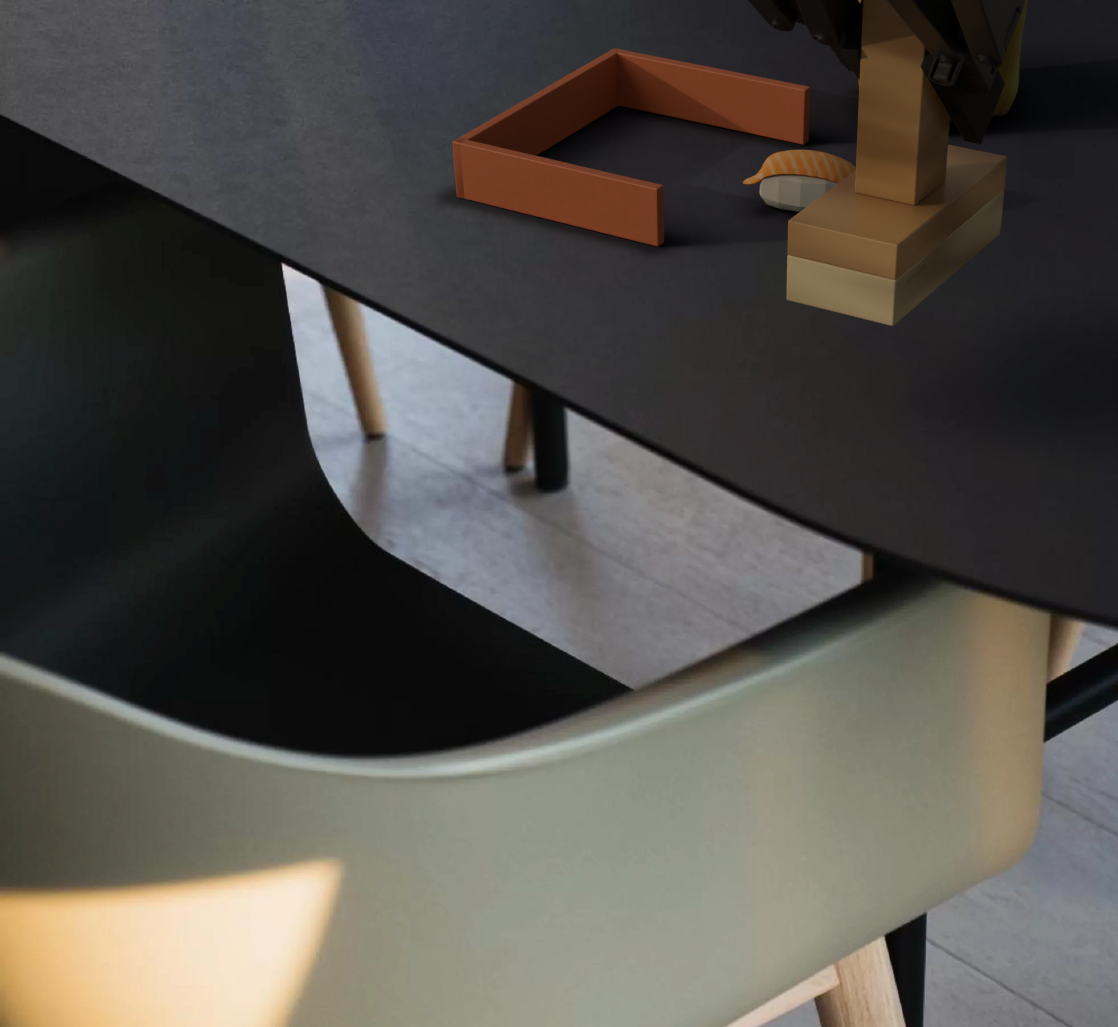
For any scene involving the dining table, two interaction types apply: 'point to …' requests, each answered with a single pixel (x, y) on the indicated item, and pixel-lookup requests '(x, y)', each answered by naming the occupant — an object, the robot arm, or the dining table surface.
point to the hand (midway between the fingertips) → (946, 104)
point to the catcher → (588, 93)
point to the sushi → (799, 177)
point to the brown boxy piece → (895, 192)
